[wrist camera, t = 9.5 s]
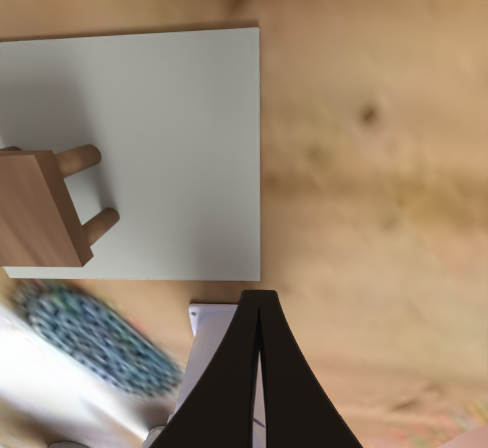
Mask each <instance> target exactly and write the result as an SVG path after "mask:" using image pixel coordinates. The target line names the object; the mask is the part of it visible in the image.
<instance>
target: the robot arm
mask: <svg viewBox="0 0 488 448" xmlns="http://www.w3.org/2000/svg"><path fill="white" fill-rule="evenodd" d="M188 311H189V316H190V321H191V326H192V331H193V336H194V341H193V345H192V348H191V352H190V356H189V360H188V363H187V367H186V371H185V374H184V378H183V382H182V385H181V389H180V393H179V397H178V400H177V404H176V408H175V411H174V414H170V415H169V418H168V422H167V425H166V426H165V428H164V429H163V430H156V431H155V432H153V434H152V435H151V436H150V437H149V438H147V439H146V440H145V441H144V443H143V444H142V446H141V448H363V447H362V445H361V444H360V442H359V441H358V440H357V438H356V437H355V435H354V434H353V433H352V431H351V430H350V428H349V427H348V426H347V424H346V423H345V421H344V420H343V419H342V417H341V416H340V414H339V413H338V411H337V410H336V409H335V407H334V405H333V404H332V402H331V401H330V399H329V398H328V396H327V395H326V393H325V392H324V390H323V388H322V387H321V385H320V384H319V382H318V380H317V379H316V377H315V375H314V374H313V372H312V370H311V368H310V367H309V365H308V363H307V361H306V360H305V358H304V356H303V354H302V352H301V350H300V348H299V346H298V344H297V342H296V340H295V338H294V336H293V334H292V332H291V330H290V328H289V325H288V323H287V321H286V318H285V316H284V313H283V311H282V308H281V305H280V302H279V298H278V294H277V292H276V291H275V290H243V291H242V293H241V297H240V300H239V303H238V305H232V304H191V305H190V306H189V308H188Z"/></svg>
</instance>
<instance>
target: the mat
mask: <svg viewBox="0 0 488 448" xmlns="http://www.w3.org/2000/svg"><path fill="white" fill-rule="evenodd" d="M87 144H90V145H93V146H95V147H96V148H97V149H98V150H99V151H100V153H101V161H100V162H99V163H98V164H96V165H94V166H91V167H89V168H87V169H85V170H82V171H80V172H78V173H75V174H73V175H71V176H68V177H66V178H64V181H65V184H66V186H67V189H68V192H69V194H70V197H71V199H72V202H73V204H74V207H75V209H76V212H77V214H78V217H79V220H80V222H81V225H83V224H85V223H86V222H87V221H89V220H90V219H91V218H93V217H94V216H95V215H97V214H98V213H99V212H101V211H102V210H103V209H105V208H113V209H115V210H116V211H117V212H118V213H119V215H120V220H119V221H118V222H117V223H116V224H115V225H114V226H113V227H112V228H111V229H109V230H108V231H107V232H106V233H105V234H104V235H103V236H102V237H101V238H100V239H98V240H97V241H96V242H95V243H94V244H93V245H92V246H91V247H90V248H91V250H92V253H93V255H94V257H93V258H92V259H91V260H90V261H89V262H88V263H87V264H86V265H85V266H84V267H4V269H5V270H6V272H7V274H8V275H9V277H10V278H62V279H136V280H211V281H260V62H259V27H254V28H237V29H220V30H202V31H185V32H168V33H151V34H133V35H116V36H99V37H82V38H65V39H47V40H30V41H13V42H0V149H1V148H6V147H11V146H16V147H18V148H20V149H21V150H23V151H35V150H52V151H53V153H54V154H56V153H60V152H63V151H66V150H70V149H73V148H77V147H80V146H83V145H87Z"/></svg>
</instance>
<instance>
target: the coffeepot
mask: <svg viewBox="0 0 488 448" xmlns="http://www.w3.org/2000/svg"><path fill="white" fill-rule="evenodd" d="M48 448H88V447H86V446H84V445H81V444H77V443H73V442H63V441H62V442H55V443H52V444H51V445H50V446H49V447H48Z"/></svg>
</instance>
